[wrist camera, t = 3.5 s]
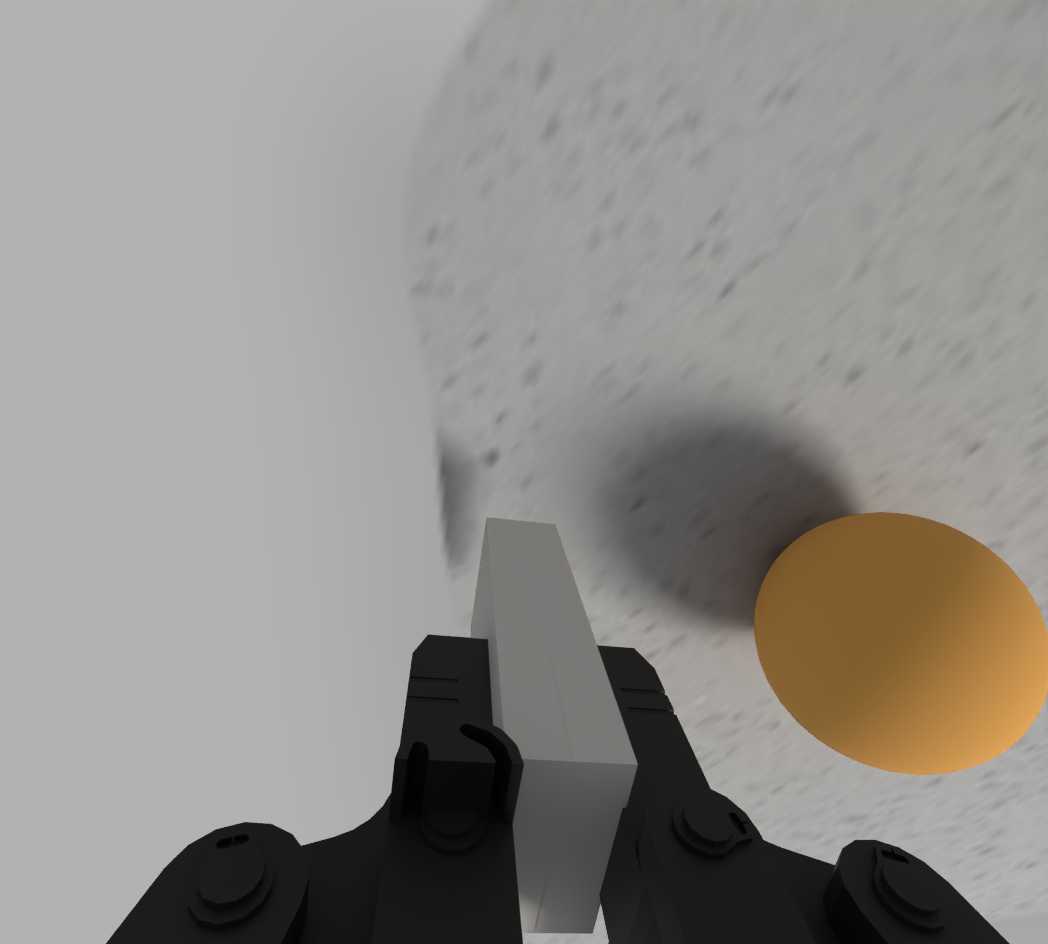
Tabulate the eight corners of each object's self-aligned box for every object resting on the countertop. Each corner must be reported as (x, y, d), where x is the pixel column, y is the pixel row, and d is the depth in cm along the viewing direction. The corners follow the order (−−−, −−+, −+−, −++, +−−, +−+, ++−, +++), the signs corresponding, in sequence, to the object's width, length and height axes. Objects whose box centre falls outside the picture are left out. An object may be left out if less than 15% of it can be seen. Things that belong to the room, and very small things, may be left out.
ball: (947, 490, 15) (1193, 605, 10) (876, 668, 17) (1056, 844, 12) (748, 466, 15) (904, 577, 9) (695, 655, 16) (802, 837, 11)
